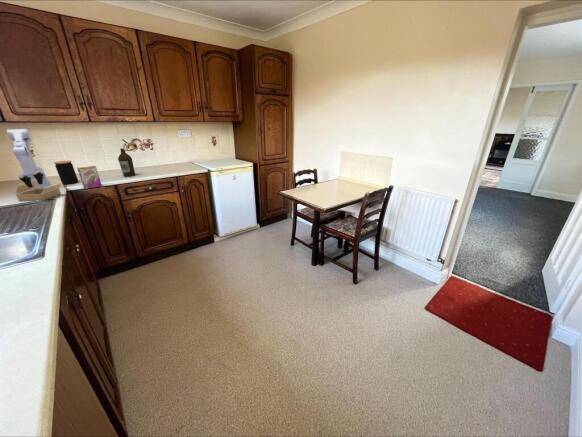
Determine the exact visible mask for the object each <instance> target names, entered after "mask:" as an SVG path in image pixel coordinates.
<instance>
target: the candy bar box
mask: <svg viewBox="0 0 582 437" xmlns="http://www.w3.org/2000/svg"><path fill="white" fill-rule="evenodd" d="M76 170H77V172H78V176H79V178H80V182H81V185H82V188H83V189H85V190H88V189H93V188H99V187H102V186H103V185H102V182H101V179H100V175H99V172H98V169H97V166H96V165H93V164H92V165H85V166H77V167H76Z"/></svg>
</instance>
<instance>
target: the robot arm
mask: <svg viewBox="0 0 582 437" xmlns="http://www.w3.org/2000/svg"><path fill="white" fill-rule="evenodd" d="M6 133H7V135H8V138H9V139H10V140H11V141H12V145H13V148H12V152H13V155H14V156H15V157H16V159H17V161H18V163H19V165H20V166H21V167H20V168H21V169H22V171H23V173H20V174H17V176H18V179H19V180H20V181H22V182H23V184H26V185H27V186H28V187H29V188H30V187H33V186H32V183H31V182H32V181H36V184H35V188H34V189H45V187H48V186H51V185H52V184H51V182H50V180H49V179H48V178H47V177H46V176H47V175H46V173H45V171H44V169H43V168H42V167H41V166H37V165H36V162H35V159H34V156H33V154H32V151H31V149H30V143H32V138H31V136H30V133H29V131H28V129H27V128H22V129H21V128H19V129H17V128H16V129H9V128H8V129H7V130H6Z"/></svg>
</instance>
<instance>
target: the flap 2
mask: <svg viewBox="0 0 582 437" xmlns="http://www.w3.org/2000/svg"><path fill="white" fill-rule="evenodd" d="M62 183H63V182H61V181H60V182H59V183H55V184H51V186H48V187H45V189H44V190H43V192H42V193H45V192H48V191H51V190H55V189H58V188H59V189H60V187H61V185H63V184H62Z"/></svg>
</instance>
